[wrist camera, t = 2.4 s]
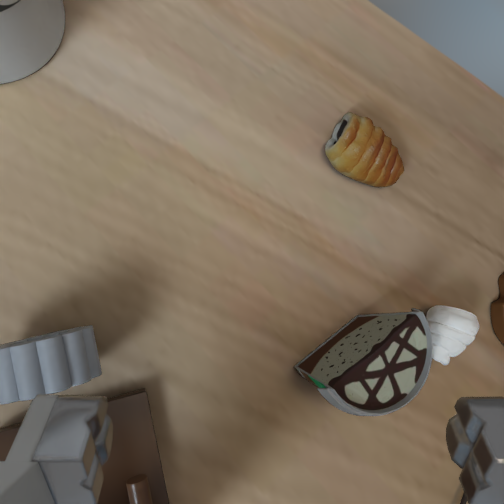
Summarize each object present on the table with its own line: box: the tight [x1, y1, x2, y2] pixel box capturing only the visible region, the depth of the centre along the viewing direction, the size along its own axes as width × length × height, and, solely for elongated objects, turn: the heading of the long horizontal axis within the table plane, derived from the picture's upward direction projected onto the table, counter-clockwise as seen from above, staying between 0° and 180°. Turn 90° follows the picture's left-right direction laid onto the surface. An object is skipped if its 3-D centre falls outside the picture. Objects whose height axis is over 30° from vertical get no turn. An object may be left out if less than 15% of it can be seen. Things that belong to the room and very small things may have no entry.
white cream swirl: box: [426, 305, 479, 365], centre depth 53 cm, size 6×6×5 cm
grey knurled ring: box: [0, 325, 102, 404], centre depth 39 cm, size 4×8×8 cm, turn 103°
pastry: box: [325, 112, 404, 187], centre depth 53 cm, size 9×7×4 cm
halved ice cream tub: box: [294, 308, 433, 416], centre depth 47 cm, size 12×6×10 cm, turn 125°
